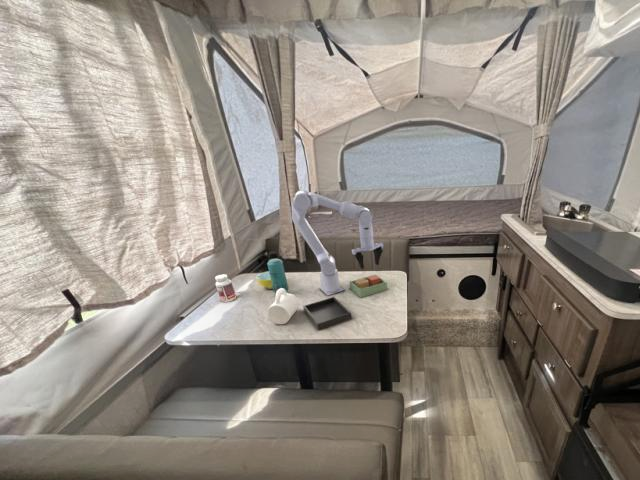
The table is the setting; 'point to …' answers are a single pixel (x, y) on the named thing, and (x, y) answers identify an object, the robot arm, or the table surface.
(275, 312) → the mug
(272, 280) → the beverage bottle
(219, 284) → the pill bottle
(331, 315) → the pan
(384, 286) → the bin
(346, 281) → the table surface
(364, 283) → the beech block
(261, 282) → the bowl
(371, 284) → the terracotta block
